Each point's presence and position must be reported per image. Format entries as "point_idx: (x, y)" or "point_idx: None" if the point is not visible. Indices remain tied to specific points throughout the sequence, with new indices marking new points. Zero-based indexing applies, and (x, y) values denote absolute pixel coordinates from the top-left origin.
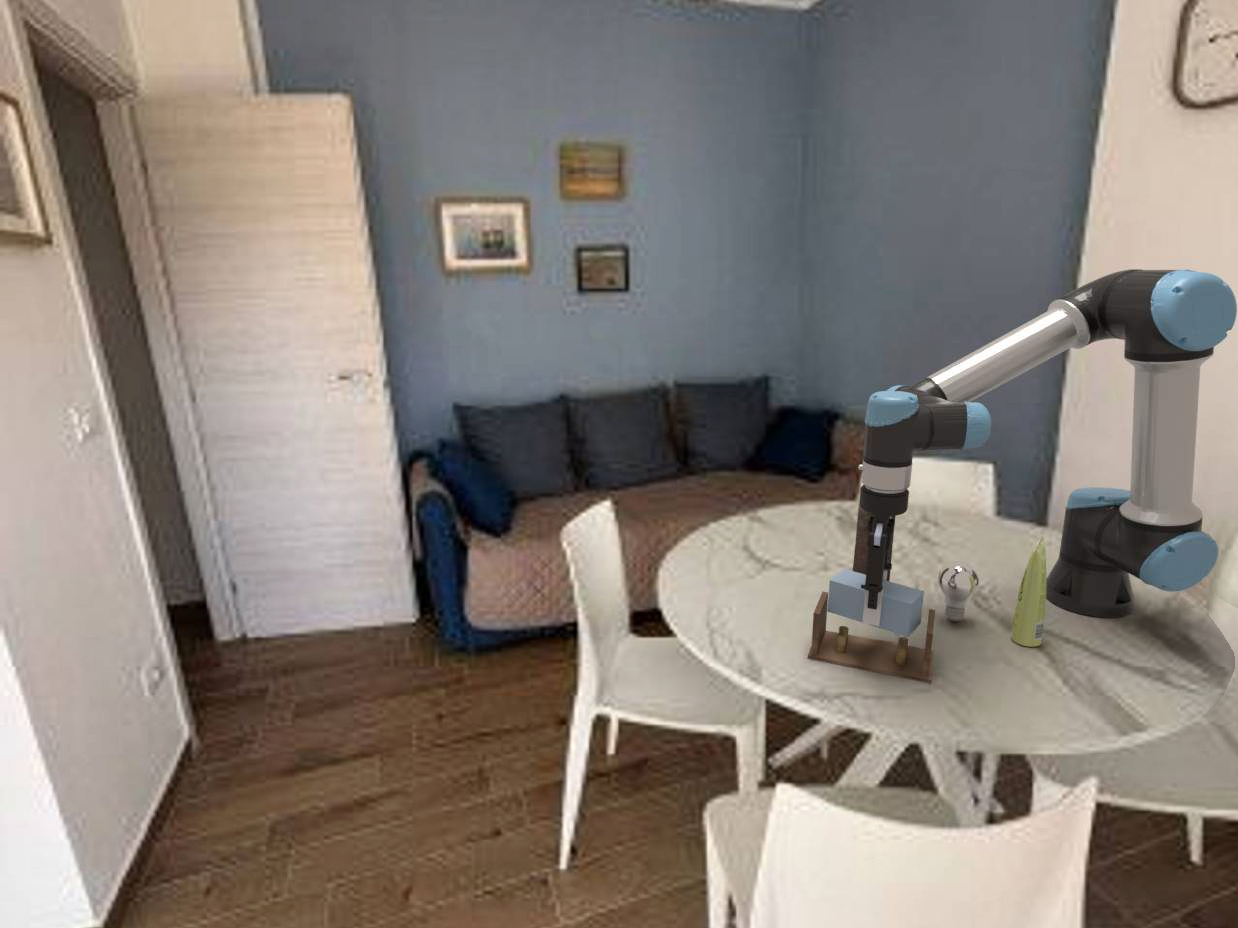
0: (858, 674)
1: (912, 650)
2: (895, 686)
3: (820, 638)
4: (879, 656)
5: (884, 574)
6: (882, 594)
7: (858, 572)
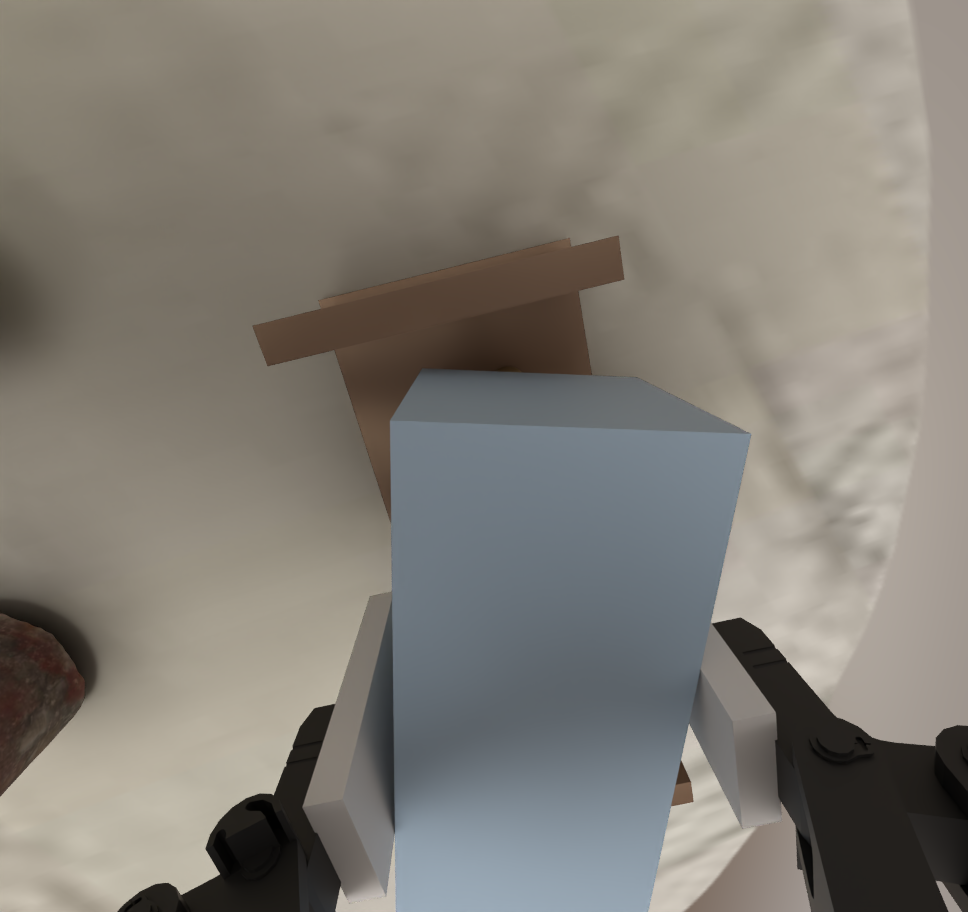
0: None
1: (381, 377)
2: (661, 352)
3: None
4: None
5: (354, 787)
6: (703, 675)
7: (4, 784)
